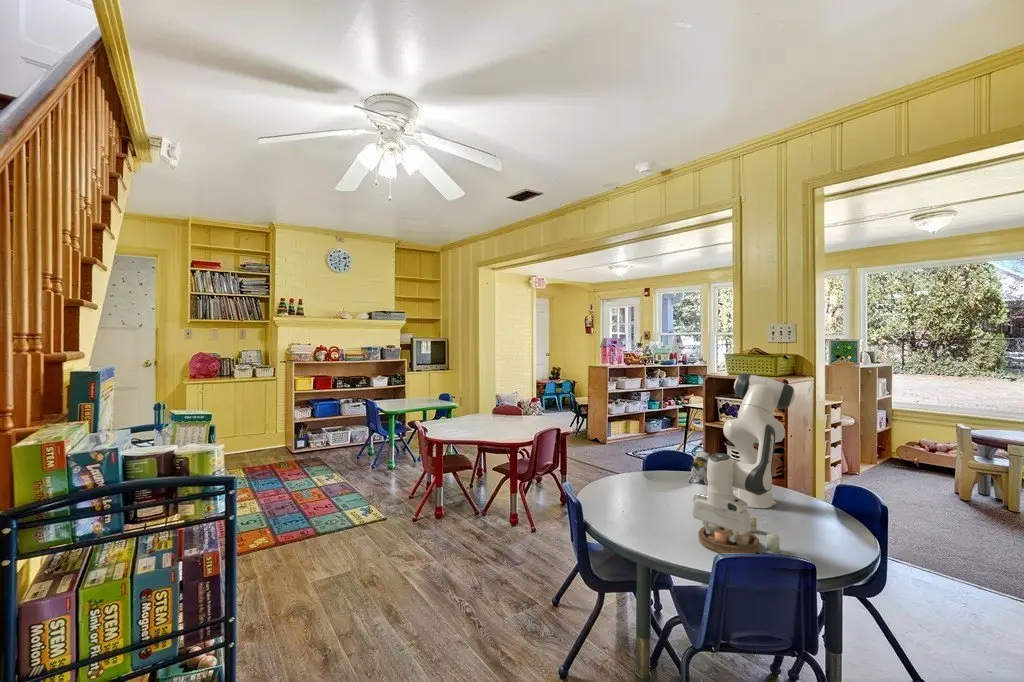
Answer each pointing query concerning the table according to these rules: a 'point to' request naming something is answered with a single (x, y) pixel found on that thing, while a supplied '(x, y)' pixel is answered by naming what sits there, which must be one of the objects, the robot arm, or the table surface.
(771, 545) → the sage green egg
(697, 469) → the robotic toy
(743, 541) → the groove tray
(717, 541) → the orange egg
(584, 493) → the table surface
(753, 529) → the tan egg
